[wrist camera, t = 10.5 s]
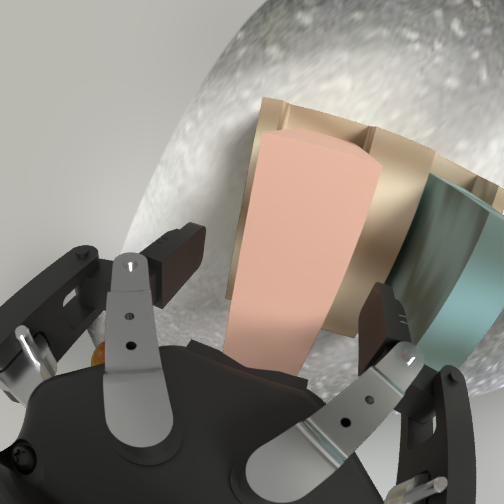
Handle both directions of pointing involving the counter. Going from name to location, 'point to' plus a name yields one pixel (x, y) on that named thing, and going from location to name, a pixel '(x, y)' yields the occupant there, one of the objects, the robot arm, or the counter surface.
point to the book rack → (410, 238)
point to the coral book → (296, 244)
